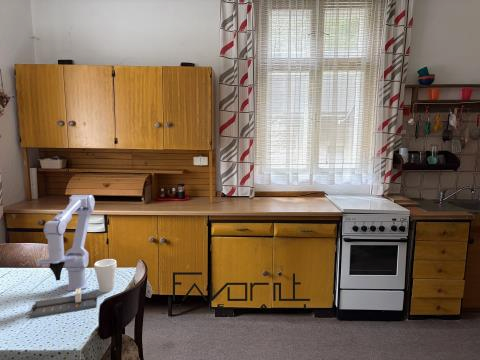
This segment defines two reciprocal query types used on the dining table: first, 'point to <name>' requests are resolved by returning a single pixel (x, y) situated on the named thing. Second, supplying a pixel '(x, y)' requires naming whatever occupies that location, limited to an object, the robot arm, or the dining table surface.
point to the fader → (78, 295)
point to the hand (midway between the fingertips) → (58, 279)
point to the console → (63, 305)
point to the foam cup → (106, 274)
